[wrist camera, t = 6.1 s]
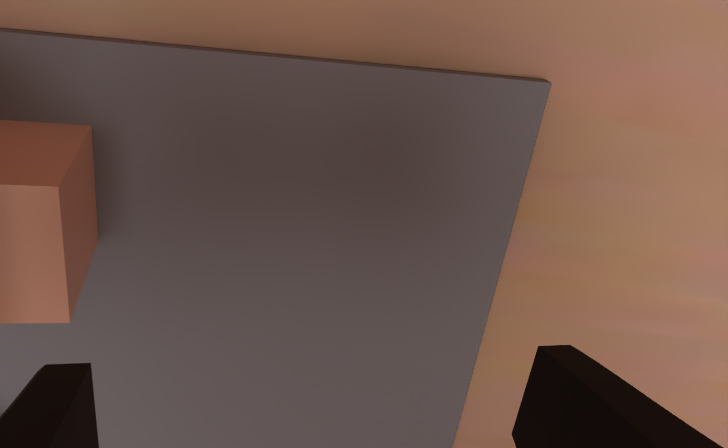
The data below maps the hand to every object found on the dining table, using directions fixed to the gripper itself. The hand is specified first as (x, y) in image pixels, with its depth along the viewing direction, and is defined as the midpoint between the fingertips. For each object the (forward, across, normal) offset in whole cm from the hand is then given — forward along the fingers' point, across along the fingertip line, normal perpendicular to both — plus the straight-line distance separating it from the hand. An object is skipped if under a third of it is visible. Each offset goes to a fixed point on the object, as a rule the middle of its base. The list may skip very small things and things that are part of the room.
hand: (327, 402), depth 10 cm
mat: (+10, +4, +5) cm, 12 cm away
